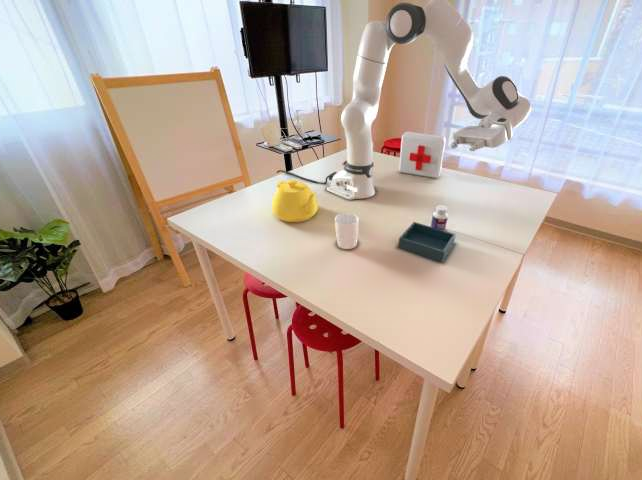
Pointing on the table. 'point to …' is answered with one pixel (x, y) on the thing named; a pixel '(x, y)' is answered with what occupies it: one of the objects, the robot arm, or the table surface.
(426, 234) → the tote
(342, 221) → the white cup
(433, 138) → the bevelled white case
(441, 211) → the pill bottle
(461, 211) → the table surface
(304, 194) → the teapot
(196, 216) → the table surface
